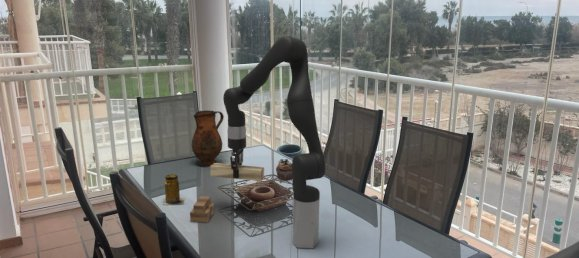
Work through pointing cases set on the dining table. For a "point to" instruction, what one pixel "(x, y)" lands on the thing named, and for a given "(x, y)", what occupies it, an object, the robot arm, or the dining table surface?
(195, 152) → the pitcher
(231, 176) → the batten
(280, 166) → the cupcake
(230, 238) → the dining table surface
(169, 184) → the condiment
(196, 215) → the stair steps
